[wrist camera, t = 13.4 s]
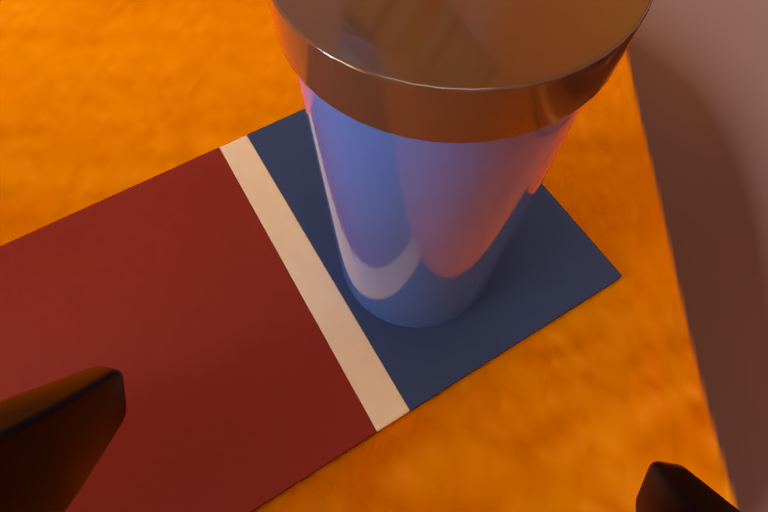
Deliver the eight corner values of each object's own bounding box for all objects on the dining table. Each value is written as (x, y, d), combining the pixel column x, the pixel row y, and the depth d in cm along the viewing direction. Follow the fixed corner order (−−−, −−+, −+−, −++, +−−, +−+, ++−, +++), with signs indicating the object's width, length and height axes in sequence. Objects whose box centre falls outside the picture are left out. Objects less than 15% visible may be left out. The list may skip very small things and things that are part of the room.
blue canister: (519, 308, 19) (741, 38, 7) (357, 352, 18) (301, 134, 6) (464, 173, 21) (557, -187, 10) (321, 207, 21) (234, -137, 9)
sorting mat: (618, 279, 20) (622, 275, 19) (-528, 1006, 12) (-557, 1023, 11) (427, 58, 25) (428, 52, 24) (-455, 459, 17) (-473, 459, 17)
